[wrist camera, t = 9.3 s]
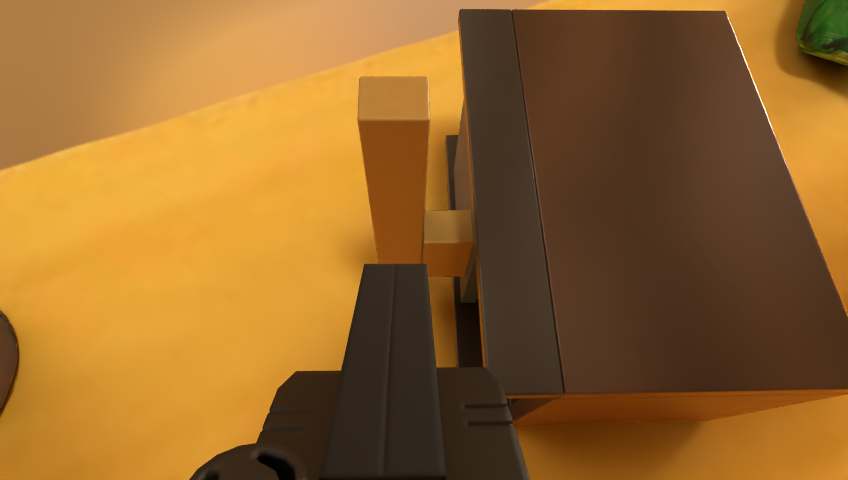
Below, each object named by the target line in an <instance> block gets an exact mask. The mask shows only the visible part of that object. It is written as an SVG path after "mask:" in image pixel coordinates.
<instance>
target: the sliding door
mask: <svg viewBox="0 0 848 480" xmlns="http://www.w3.org/2000/svg"><path fill="white" fill-rule="evenodd" d="M358 126H359V133H360V140H361V147H362V154H363V161H364V168H365V175H366V181H367V188H368V195H369V202H370V209H371V216H372V223H373V230H374V237H375V244H376V251H377V257H378V264H427V273H428V277H459V279H460V296H461V303H476V301H477V298H478V287H477V273H476V259H475V245H474V231H473V218H472V204H471V190H470V176H469V162H468V148H467V134H466V120H465V107H464V101H463V108H462V115H461V122H460V129H459V136H458V143H457V150H456V157H455V164H454V171H453V172H454V190H455V207H456V210H444V211H425V199H426V182H427V164H428V147H429V130H430V101H429V79H428V77H360V79H359V97H358Z"/></svg>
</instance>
